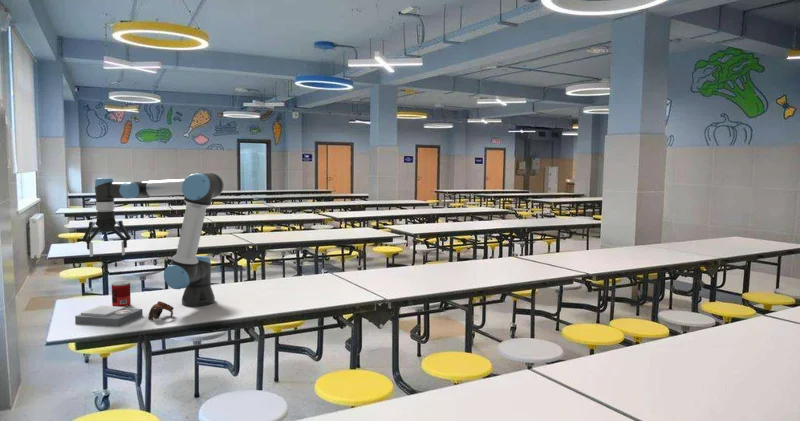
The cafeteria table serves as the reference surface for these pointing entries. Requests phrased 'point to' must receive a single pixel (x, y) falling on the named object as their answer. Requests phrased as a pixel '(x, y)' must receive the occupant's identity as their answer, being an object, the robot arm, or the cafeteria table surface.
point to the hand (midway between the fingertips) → (107, 255)
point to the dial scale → (108, 315)
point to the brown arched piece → (159, 310)
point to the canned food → (121, 294)
